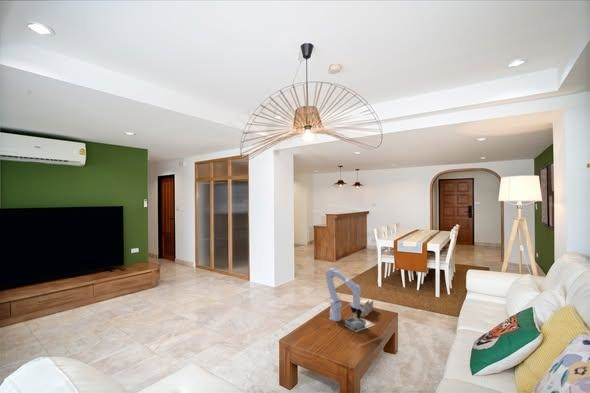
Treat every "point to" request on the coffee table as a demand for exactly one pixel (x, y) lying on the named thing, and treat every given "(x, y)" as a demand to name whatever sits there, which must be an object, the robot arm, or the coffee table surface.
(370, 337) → the coffee table surface
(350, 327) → the track board
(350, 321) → the grey storage bin
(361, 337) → the coffee table surface
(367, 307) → the multicoloured piece
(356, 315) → the maple block
